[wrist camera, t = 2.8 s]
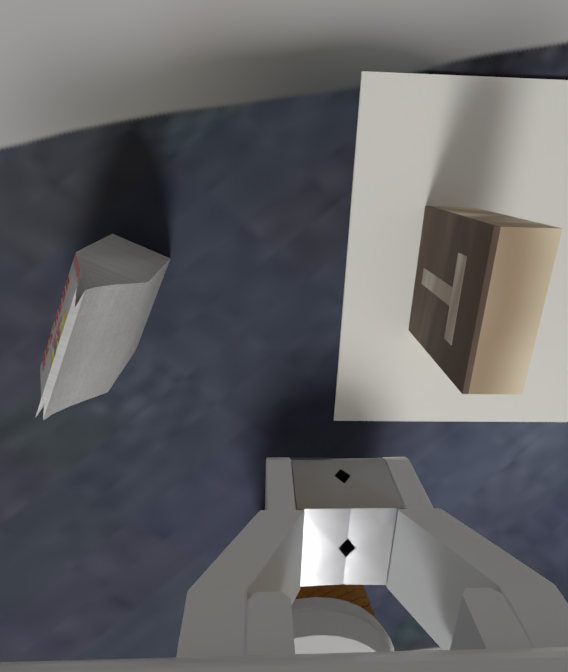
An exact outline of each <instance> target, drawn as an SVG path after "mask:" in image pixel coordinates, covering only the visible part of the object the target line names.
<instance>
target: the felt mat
mask: <svg viewBox="0 0 568 672" xmlns="http://www.w3.org/2000/svg"><path fill="white" fill-rule="evenodd" d="M425 206H445V207H474V208H479V209H483V210H487V211H491V212H495V213H500V214H504V215H508V216H512V217H517V218H521V219H525V220H529V221H533V222H538V223H542V224H546V225H550V226H554V227H559V228H562V233H561V237H560V241H559V245H558V249H557V253H556V257H555V262H554V266H553V270H552V274H551V278H550V282H549V286H548V291H547V295H546V299H545V303H544V307H543V311H542V315H541V320H540V324H539V328H538V332H537V336H536V340H535V344H534V349H533V353H532V357H531V361H530V365H529V369H528V373H527V377H526V382H525V386H524V390H523V394H522V395H512V394H462V393H461V392H460V391H459V390H458V388H457V387H456V386H455V385H454V384H453V382H452V381H451V380H450V379H449V378H448V376H447V375H446V374H445V373H444V372H443V371H442V369H441V368H440V367H439V366H438V365H437V363H436V362H435V361H434V360H433V359H432V357H431V356H430V355H429V354H428V353H427V352H426V350H425V349H424V348H423V347H422V346H421V344H420V343H419V342H418V341H417V340H416V338H415V337H414V336H413V335H412V334H411V333H410V331H409V330H408V329H409V321H410V314H411V307H412V299H413V292H414V284H415V277H416V270H417V262H418V255H419V247H420V240H421V233H422V225H423V218H424V211H425ZM334 421H471V422H568V80H554V79H531V78H508V77H485V76H462V75H438V74H415V73H392V72H369V71H368V72H367V71H362V72H361V82H360V95H359V107H358V120H357V132H356V145H355V157H354V170H353V182H352V195H351V207H350V220H349V232H348V245H347V257H346V270H345V283H344V295H343V308H342V320H341V333H340V345H339V358H338V370H337V383H336V395H335V408H334Z"/></svg>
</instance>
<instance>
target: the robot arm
mask: <svg viewBox="0 0 568 672" xmlns="http://www.w3.org/2000/svg"><path fill="white" fill-rule="evenodd" d="M342 584H347V585H387V588H388V589H389V590H390V591H391V593H392V594H393V595H394V596H395V597H396V598H397V599H398V600H399V602H400V603H401V604H402V605H403V606H404V607H405V608H406V609H407V610H408V612H409V613H410V614H411V615H412V616H413V617H414V618H415V619H416V621H417V622H418V623H419V624H420V625H421V626H422V627H423V628H424V630H425V631H426V632H427V633H428V634H429V635H430V636H431V637H432V639H433V640H434V641H435V642H436V643H437V644H438V645H439V646H440V647H441V649H442V650H425V651H389V652H354V653H318V654H295V645H294V633H293V621H292V608H291V606H292V604H293V602H294V600H295V598H296V596H297V594H298V593H299V591H300V587H301V586H321V585H342ZM0 672H568V603H567V602H566V600H565V599H564V597H563V596H562V595H561V593H560V592H559V590H558V589H557V587H556V586H555V585H554V584H553V583H551V582H550V581H548V580H547V579H545V578H544V577H542V576H541V575H539V574H538V573H536V572H535V571H533V570H532V569H530V568H529V567H527V566H526V565H524V564H523V563H521V562H520V561H518V560H517V559H515V558H514V557H512V556H511V555H509V554H508V553H506V552H505V551H503V550H502V549H500V548H499V547H497V546H496V545H494V544H493V543H491V542H490V541H488V540H487V539H485V538H484V537H482V536H481V535H479V534H478V533H476V532H475V531H473V530H472V529H470V528H469V527H467V526H466V525H464V524H463V523H461V522H460V521H458V520H457V519H455V518H454V517H452V516H451V515H449V514H448V513H447V512H445V511H444V510H442V509H434V508H433V506H432V504H431V502H430V500H429V499H428V497H427V495H426V493H425V491H424V489H423V487H422V485H421V483H420V481H419V479H418V477H417V475H416V473H415V471H414V469H413V467H412V465H411V463H410V461H409V459H408V458H406V457H382V458H352V459H337V458H298V457H291V458H289V457H267V458H266V481H265V510H260V511H259V512H258V513H257V514H256V515H255V516H254V517H253V519H252V520H251V521H250V522H249V523H248V524H247V525H246V526H245V528H244V529H243V530H242V531H241V532H240V533H239V534H238V535H237V536H236V538H235V539H234V540H233V541H232V542H231V543H230V544H229V545H228V547H227V548H226V549H225V550H224V551H223V552H222V553H221V554H220V555H219V557H218V558H217V559H216V560H215V561H214V562H213V563H212V564H211V565H210V567H209V568H208V569H207V570H206V571H205V572H204V573H203V574H202V576H201V577H200V578H199V579H198V580H197V581H196V582H195V583H194V584H193V586H192V587H191V588H190V589H189V590H188V592H187V598H186V604H185V610H184V615H183V621H182V627H181V633H180V638H179V644H178V650H177V656H176V657H174V658H137V659H101V660H65V661H29V662H0Z"/></svg>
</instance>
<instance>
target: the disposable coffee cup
mask: <svg viewBox="0 0 568 672" xmlns="http://www.w3.org/2000/svg"><path fill="white" fill-rule="evenodd" d="M291 608H292V621H293V633H294V645H295V654H318V653H354V652H389V651H394V647H393V644H392V642H391V640H390V637H389V636H388V634H387V633H386V631H385V630H384V628H383V627H382V626H381V625H380V623H379V622H378V621H377V619H376V617H375V615H374V614H373V613H374V611H373V609H372V607H371V605H370V601H369V599H368V597H367V593H366V591H365V589H364V586H363V585H347V584H342V585H321V586H301V587H300V591H299V593H298V594H297V596H296V598H295V600H294V602H293V604H292V606H291Z"/></svg>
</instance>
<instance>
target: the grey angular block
mask: <svg viewBox="0 0 568 672" xmlns="http://www.w3.org/2000/svg"><path fill="white" fill-rule="evenodd" d="M169 261H170V258H168V257H166V256H163V255H161V254H159V253H156V252H154V251H152V250H149V249H147V248H145V247H142V246H140V245H138V244H135V243H133V242H131V241H128V240H126V239H124V238H121V237H119V236H117V235H114V234H111V235H109V236H107V237H105V238H103V239H101V240H99V241H97V242H95V243H93V244H91V245H89V246H87V247H85V248H83V249H81V250H79V251H77V252H76V253H75V256H74V259H73V262H72V266H71V269H70V272H69V275H68V279H67V282H66V285H65V288H64V292H63V295H62V298H61V301H60V305H59V308H58V311H57V314H56V318H55V321H54V324H53V327H52V331H51V334H50V337H49V340H48V344H47V347H46V350H45V354H44V357H43V360H42V363H41V367H40V375H41V400H40V405H39V408H38V411H37V414H36V416H37V415H38V413H39V412H40V411H41V409H42V408H43V406H44V415H43V420H45V419H46V418H48V417H49V416H51V415H52V414H54V413H56V412H58V411H60V410H62V409H65V408H67V407H69V406H71V405H74V404H77V403H79V402H82V401H85V400H88V399H90V398H93V397H96V396H99V395H101V394H104V393H107V392H108V391H109V390H110V388H111V387H112V385H113V384H114V382H115V381H116V379H117V378H118V376H119V375H120V373H121V372H122V370H123V369H124V367H125V366H126V364H127V363H128V361H129V360H130V358H131V357H132V355H133V354H134V352H135V351H136V348H137V346H138V343H139V340H140V338H141V335H142V332H143V330H144V327H145V324H146V322H147V319H148V316H149V314H150V311H151V309H152V306H153V303H154V301H155V298H156V295H157V293H158V290H159V287H160V285H161V282H162V279H163V277H164V274H165V271H166V269H167V266H168V264H169ZM35 418H36V417H35Z"/></svg>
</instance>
